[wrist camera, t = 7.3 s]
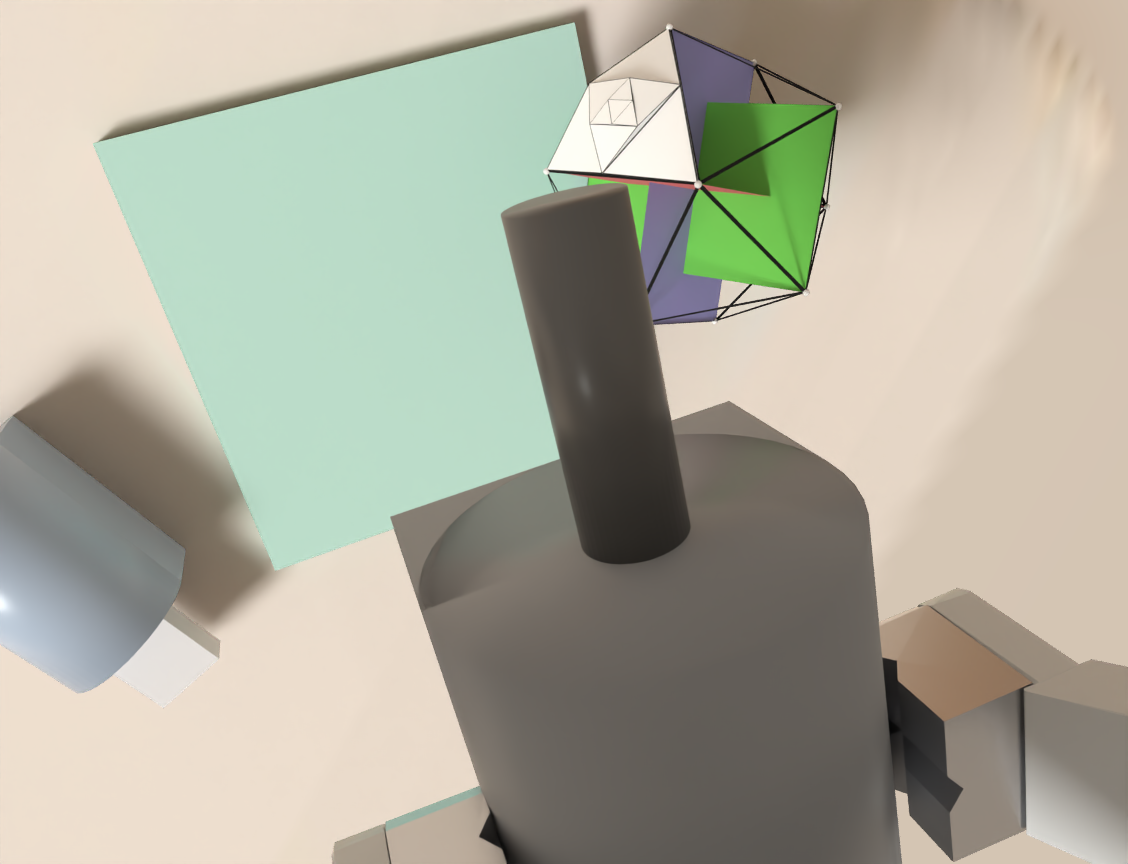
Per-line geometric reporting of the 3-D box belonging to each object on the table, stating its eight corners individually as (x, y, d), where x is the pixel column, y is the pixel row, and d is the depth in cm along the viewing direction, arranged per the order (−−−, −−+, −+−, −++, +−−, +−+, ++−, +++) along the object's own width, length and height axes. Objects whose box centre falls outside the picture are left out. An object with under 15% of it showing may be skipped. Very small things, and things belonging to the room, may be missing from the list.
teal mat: (96, 142, 21) (92, 143, 21) (567, 24, 24) (574, 22, 23) (275, 560, 26) (275, 570, 26) (648, 428, 29) (656, 435, 28)
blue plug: (-100, 513, 23) (-159, 588, 20) (13, 414, 23) (-28, 471, 20) (147, 679, 27) (132, 766, 23) (244, 593, 27) (243, 667, 23)
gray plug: (295, 236, 8) (328, 333, 5) (686, 131, 9) (964, 144, 6) (561, 1028, 13) (680, 1385, 9) (808, 909, 14) (1006, 1195, 10)
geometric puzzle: (839, 81, 25) (910, 21, 18) (796, 326, 27) (845, 368, 19) (584, 56, 26) (545, -13, 18) (558, 296, 28) (512, 327, 20)
